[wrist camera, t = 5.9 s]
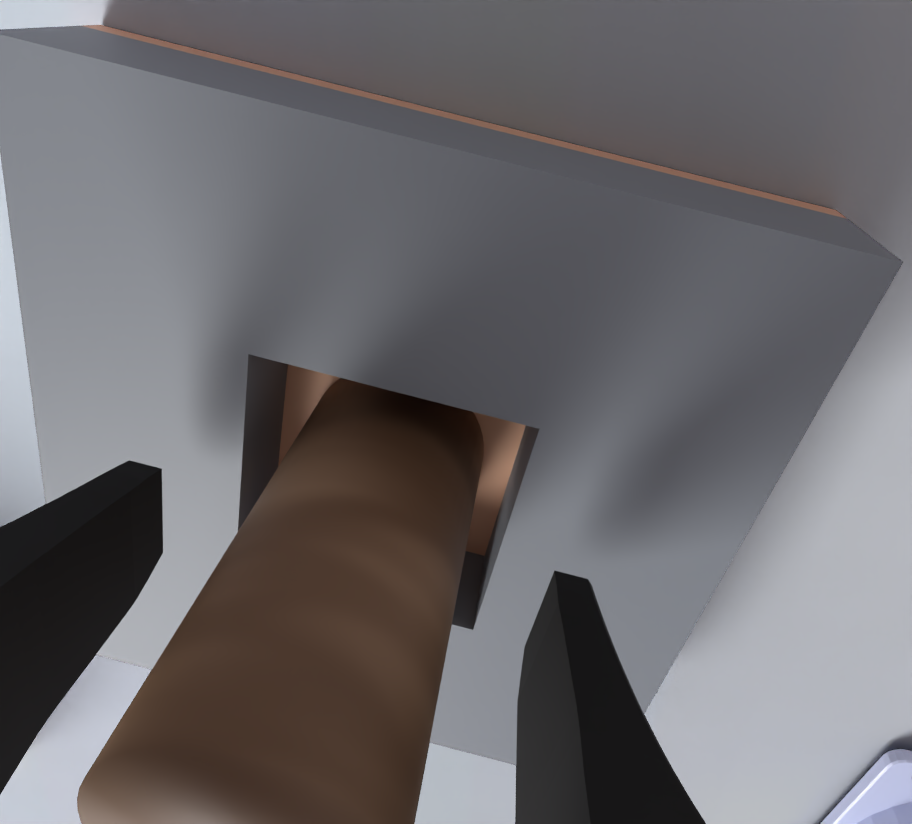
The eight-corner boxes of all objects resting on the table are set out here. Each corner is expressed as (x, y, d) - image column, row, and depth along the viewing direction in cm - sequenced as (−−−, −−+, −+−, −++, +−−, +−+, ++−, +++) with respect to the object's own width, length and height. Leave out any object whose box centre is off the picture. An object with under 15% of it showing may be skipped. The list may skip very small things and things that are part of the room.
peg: (501, 390, 15) (431, 803, 7) (464, 529, 17) (377, 963, 9) (321, 345, 15) (60, 708, 7) (305, 489, 17) (90, 889, 9)
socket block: (836, 210, 13) (902, 262, 10) (597, 687, 20) (601, 787, 18) (100, 25, 13) (-17, 30, 10) (128, 565, 20) (64, 646, 18)
